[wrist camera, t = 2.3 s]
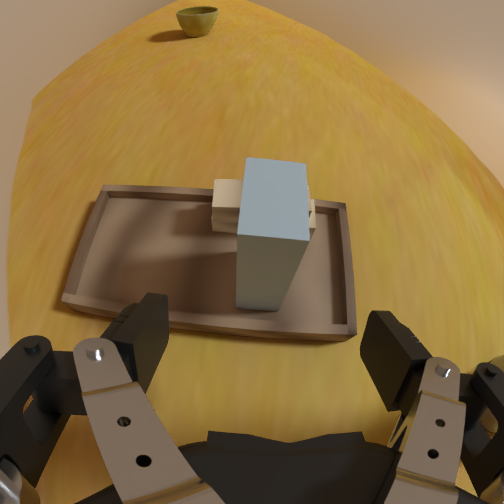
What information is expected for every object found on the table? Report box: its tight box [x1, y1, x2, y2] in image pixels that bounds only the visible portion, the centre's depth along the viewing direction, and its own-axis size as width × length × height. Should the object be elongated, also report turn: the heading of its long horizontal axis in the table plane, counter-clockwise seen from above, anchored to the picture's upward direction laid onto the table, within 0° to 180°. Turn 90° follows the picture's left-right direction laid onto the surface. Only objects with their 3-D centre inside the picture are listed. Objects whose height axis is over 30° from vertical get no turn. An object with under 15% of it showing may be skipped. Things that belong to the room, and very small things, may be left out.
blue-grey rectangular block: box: [236, 157, 310, 312], centre depth 20 cm, size 3×5×11 cm, turn 176°
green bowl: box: [176, 6, 218, 37], centre depth 53 cm, size 10×10×7 cm
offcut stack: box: [211, 179, 316, 240], centre depth 26 cm, size 9×4×4 cm, turn 86°
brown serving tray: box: [61, 185, 357, 341], centre depth 26 cm, size 25×13×2 cm, turn 86°
